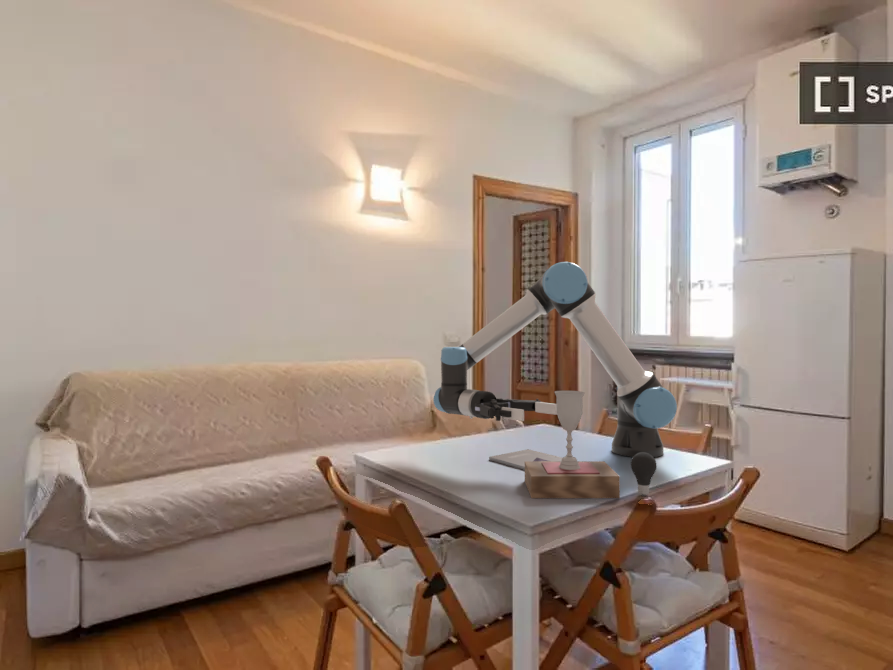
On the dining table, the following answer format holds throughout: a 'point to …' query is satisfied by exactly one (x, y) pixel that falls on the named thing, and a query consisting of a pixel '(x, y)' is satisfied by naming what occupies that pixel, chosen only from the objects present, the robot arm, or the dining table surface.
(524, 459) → the play button award
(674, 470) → the dining table surface
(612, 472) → the display stand
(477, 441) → the dining table surface
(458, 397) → the robot arm
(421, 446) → the dining table surface
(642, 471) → the light bulb
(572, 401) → the chalice
